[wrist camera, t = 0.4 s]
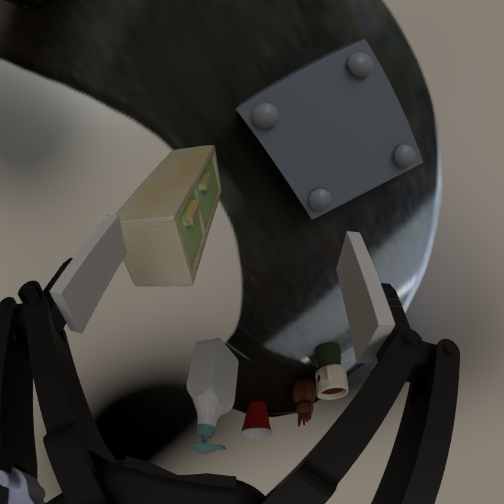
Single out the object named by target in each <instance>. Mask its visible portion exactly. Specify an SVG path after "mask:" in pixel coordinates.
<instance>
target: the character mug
mask: <svg viewBox="0 0 504 504" xmlns="http://www.w3.org/2000/svg"><path fill="white" fill-rule="evenodd" d="M315 353H316V358H317V361H318V365H319V368H320V369H319V370H318V371H317V372H316V387H317V397H318V398H320V399H323V400H332V399H338V398H341V397H343V396H345V395H346V394H347V393H348V383H347V376H346V370H345V367H344V366H342V365H340V364H341V351H340V346H339V345H338V344H333V343H330V344H323V345H320V346H318V347H317V348H316V350H315Z"/></svg>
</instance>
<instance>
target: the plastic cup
mask: <svg viewBox="0 0 504 504" xmlns="http://www.w3.org/2000/svg"><path fill="white" fill-rule="evenodd" d="M272 434H273V431H272V430H271V428H270V424H269V418H268V413H267V407H266V403H264V402H261V401H253V402H250V404H249V406H248V410H247V413H246V417H245V421H244V425H243V428H242V431H241V432H240V435H241V436H243V437H246V438H254V439H257V438H265V437H269V436H271V435H272Z"/></svg>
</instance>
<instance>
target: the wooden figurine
mask: <svg viewBox="0 0 504 504" xmlns="http://www.w3.org/2000/svg"><path fill="white" fill-rule="evenodd" d="M292 395H293V400H294V401H295V402H296V403H297V406H296V411H297V414H298V426H300V423H301V420H303V425H305V419H306V421H307V422H308V419H309V420H310V419H311V414H312V412H313V404H312V403H313V402H314V401H315V398H316V389H315V386H314V384H313V382H312V381H311V380H310V379H307V378H300V379H298V380H296V382H295V383H294V386H293V392H292Z"/></svg>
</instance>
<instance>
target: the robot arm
mask: <svg viewBox="0 0 504 504" xmlns="http://www.w3.org/2000/svg"><path fill="white" fill-rule="evenodd" d="M5 1H7V2H9V3H11V4H13V5H15V6H17V7H19V8H23V9H35V8H39V7H42V6H44V5H46V4H47V3H49V2H50V1H52V0H5ZM126 254H127V250H126V246H125V242H124V237H123V233H122V228H121V224H120V219H119V215H108V216H107V217H106V218H105V219H104V220H103V222H102V223H101V224H100V225H99V227H98V228H97V229H96V230H95V231H94V232H93V234H92V235H91V236H90V237H89V239H88V240H87V241H86V242H85V244H84V245H83V246H82V247H81V249H80V250H79V251H78V253H77V254H76V255H75V257H74V258H70V259H68V260H67V261H66V262H64V263H63V264H62V266H61V267H60V268H59V270H58V271H57V272H56V274H55V276H54V277H53V278H52V279H51V281H50V282H49V283H48V285H47V286H46V288H45V289H44V291H43V290H42V289H41V286H40V284H39V283H38V282H37V281H29V282H27V283H25V284H24V285H23V286H22V287H21V288H20V290H19V292H18V296H19V297H20V299H21V301H22V304H17V303H16V301H15V300H14V298H12V297H7V298H5V299H3V300H2V301H1V302H0V504H325V503H326V502H327V501H328V499H329V498H330V497H331V496H332V495H333V493H334V492H335V490H336V487H337V485H338V483H339V482H340V480H341V479H342V478H343V477H344V475H345V474H346V473H347V472H348V470H349V469H350V468H351V466H352V465H353V464H354V462H355V461H356V460H357V458H358V457H359V455H360V454H361V453H362V451H363V450H364V449H365V447H366V446H367V444H368V443H369V441H370V440H371V439H372V437H373V435H374V434H375V432H376V431H377V430H378V428H379V426H380V425H381V423H382V422H383V420H384V418H385V417H386V415H387V413H388V412H389V410H390V409H391V407H392V405H393V403H394V401H395V400H396V398H397V396H398V395H399V393H400V391H401V389H402V387H403V385H404V383H405V382H410V386H409V391H408V396H407V399H406V404H405V408H404V411H403V416H402V419H401V423H400V427H399V430H398V433H397V436H396V440H395V443H394V446H393V449H392V452H391V455H390V458H389V461H388V463H387V466H386V469H385V472H384V474H383V477H382V479H381V482H380V484H379V487H378V489H377V492H376V494H375V496H374V499H373V501H372V503H371V504H434V503H435V500H436V497H437V494H438V491H439V488H440V484H441V481H442V477H443V473H444V470H445V466H446V461H447V457H448V452H449V448H450V443H451V437H452V431H453V426H454V418H455V412H456V403H457V394H458V383H459V366H460V352H459V349H458V347H457V345H456V344H455V343H454V342H453V341H451V340H449V339H442V340H441V341H439V342H438V344H437V345H435V344H431V343H428V342H424V341H422V338H421V337H420V336H419V334H418V333H416V332H415V331H414V330H411V329H410V326H409V323H408V321H407V318H406V315H405V313H404V310H403V307H401V306H402V305H401V302H400V300H399V297H398V295H397V292H396V290H395V289H394V288H393V287H392V286H391V285H390V284H386V283H380V281H379V278H378V276H377V273H376V271H375V268H374V266H373V263H372V261H371V258H370V256H369V253H368V251H367V249H366V246H365V244H364V242H363V239H362V237H361V235H360V233H358V232H348V231H347V233H346V237H345V241H344V244H343V248H342V252H341V255H340V258H339V262H338V265H337V269H336V270H337V274H338V278H339V283H340V287H341V291H342V295H343V299H344V304H345V308H346V312H347V317H348V322H349V326H350V331H351V336H352V341H353V346H354V351H355V356H356V362H357V363H369V362H372V361H373V359H374V358H375V357H376V356H377V360H378V364H377V365H376V366H375V368H374V369H373V371H372V372H371V373H370V376H369V377H368V378H367V380H366V381H365V383H364V384H363V386H362V387H361V389H360V390H359V391H358V393H357V394H356V396H355V397H354V398H353V400H352V401H351V402H350V404H349V405H348V407H347V408H346V409H345V410H344V412H343V413H342V414H341V415H340V417H339V418H338V419H337V421H336V422H335V423H334V424H333V425H332V427H331V428H330V429H329V430H328V432H327V433H326V434H325V435H324V436H323V438H322V439H321V440H320V441H319V442H318V443H317V444H316V446H315V447H314V448H313V449H312V450H311V451H310V452H309V454H308V455H307V456H306V457H305V458H304V459H303V460H302V461H301V462H300V463H299V464H298V465H297V466H296V468H294V469H293V470H292V472H290V473H289V474H288V475H287V477H285V478H284V479H283V480H282V481H281V482H280V483H279V484H278V485H277V486H276V487H275V488H274V489H273V490H271V491H270V492H269V493H268V494H267V495H266V496H264V494H262V493H261V492H260V491H259V490H258V489H256V488H255V487H253V486H251V485H249V484H247V483H245V482H242V481H239V480H236V476H226V475H217V474H208V473H206V474H193V475H176V474H174V473H171V472H169V471H167V470H165V469H163V468H161V467H159V466H157V465H155V464H152V463H150V462H146V461H142V460H139V459H135V458H131V457H128V456H126V459H125V460H119V461H116V460H115V458H114V457H113V455H112V453H111V452H110V451H109V450H108V448H107V447H106V446H105V444H104V442H103V440H102V438H101V435H100V433H99V431H98V428H97V426H96V424H95V421H94V419H93V417H92V414H91V411H90V409H89V406H88V404H87V401H86V398H85V396H84V393H83V390H82V387H81V384H80V381H79V378H78V375H77V372H76V368H75V365H74V362H73V358H72V355H71V351H70V347H69V344H68V340H67V336H66V332H65V330H64V329H63V328H64V326H65V324H67V325H68V327H69V329H70V330H71V331H74V332H78V333H83V331H84V329H85V327H86V325H87V323H88V321H89V319H90V317H91V315H92V313H93V311H94V310H95V307H96V306H97V304H98V302H99V300H100V298H101V297H102V295H103V293H104V291H105V289H106V288H107V286H108V284H109V282H110V281H111V279H112V277H113V275H114V274H115V272H116V270H117V269H118V267H119V265H120V264H121V262H122V260H123V259H124V257H125V255H126ZM33 378H34V383H35V388H36V393H37V396H38V401H39V406H40V410H41V414H42V417H43V421H44V424H45V428H46V432H47V434H46V435H45V436H44V439H43V441H44V446H45V449H46V452H47V455H48V458H49V460H50V463H51V466H52V468H53V471H54V474H55V476H56V478H57V481H58V483H59V486H60V488H61V490H62V493H61V494H60V495H58V496H56V497H55V498H53V499H52V500H50V501H49V502H47V503H45V502H44V500H43V498H44V497H45V491H44V489H43V488H42V487H41V486H40V484H39V483H38V481H37V458H36V449H35V438H34V423H33Z"/></svg>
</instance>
